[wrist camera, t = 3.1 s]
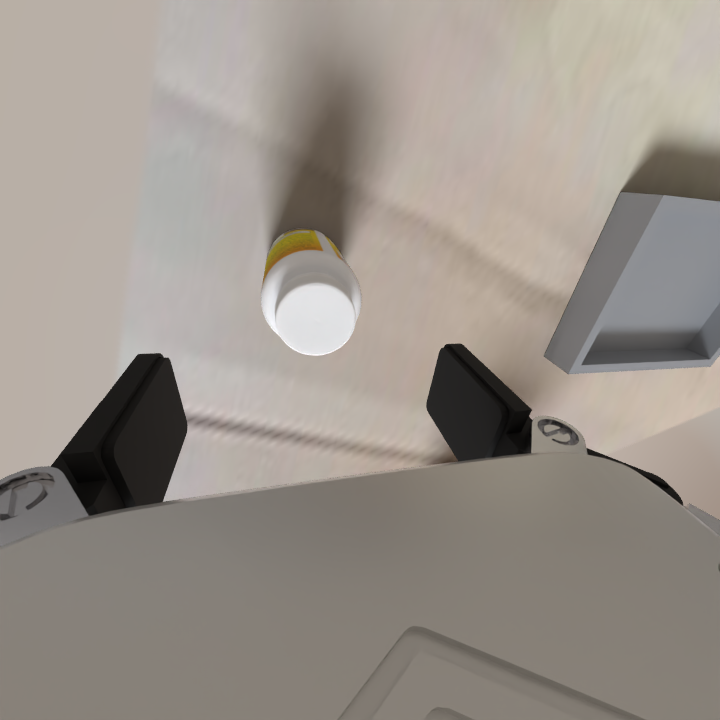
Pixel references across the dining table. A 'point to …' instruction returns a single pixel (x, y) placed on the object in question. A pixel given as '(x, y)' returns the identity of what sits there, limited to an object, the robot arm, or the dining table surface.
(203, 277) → the dining table surface
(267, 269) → the supplement bottle
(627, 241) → the tray
